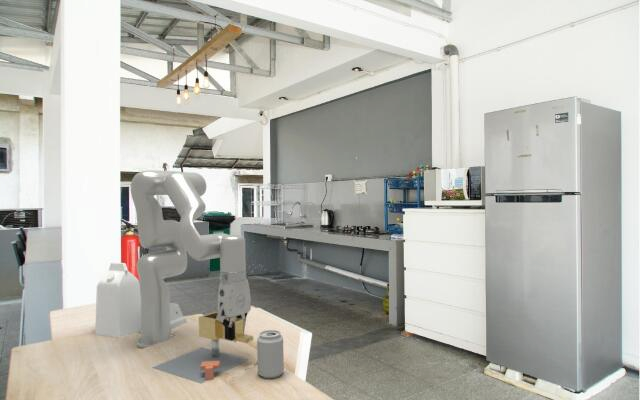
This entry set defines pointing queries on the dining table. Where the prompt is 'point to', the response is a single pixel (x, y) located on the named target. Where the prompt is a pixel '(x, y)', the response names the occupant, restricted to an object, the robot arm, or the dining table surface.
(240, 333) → the link
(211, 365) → the pink t-shaped block
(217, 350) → the cylinder
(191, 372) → the base plate
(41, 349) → the dining table surface
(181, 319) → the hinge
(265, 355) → the can
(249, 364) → the dining table surface
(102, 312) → the milk
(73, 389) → the dining table surface
